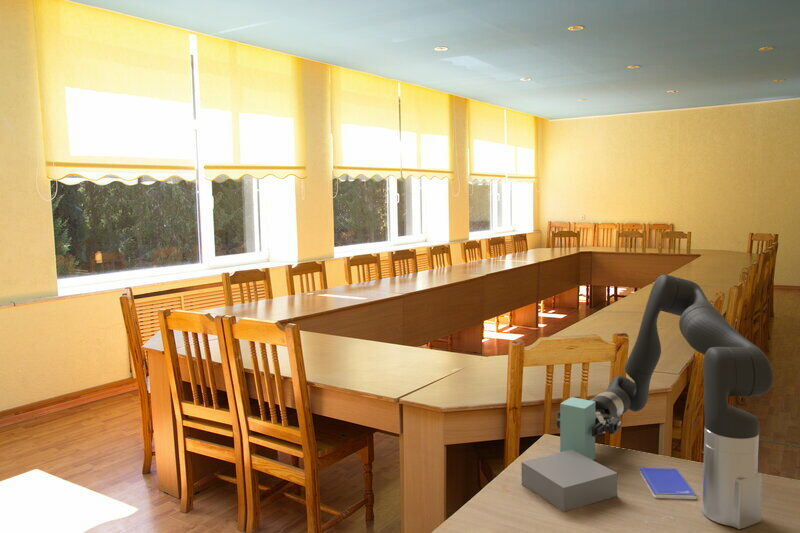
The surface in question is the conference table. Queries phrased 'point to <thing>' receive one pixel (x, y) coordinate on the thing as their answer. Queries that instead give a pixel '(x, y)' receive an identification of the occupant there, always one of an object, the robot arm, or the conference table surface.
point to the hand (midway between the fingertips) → (575, 428)
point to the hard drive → (667, 483)
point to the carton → (577, 426)
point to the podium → (569, 479)
